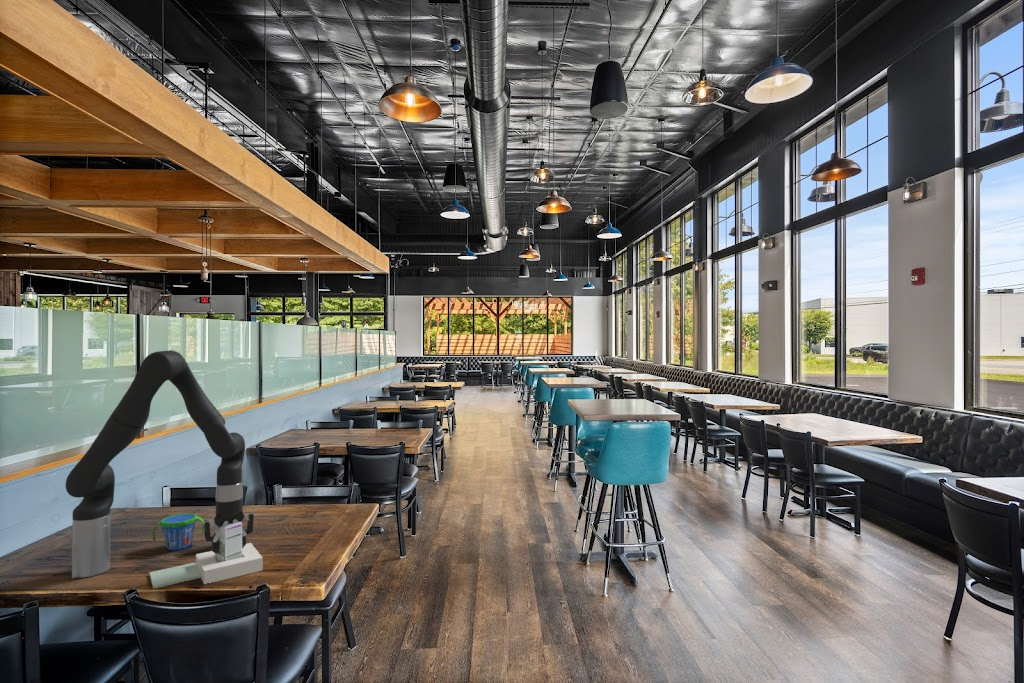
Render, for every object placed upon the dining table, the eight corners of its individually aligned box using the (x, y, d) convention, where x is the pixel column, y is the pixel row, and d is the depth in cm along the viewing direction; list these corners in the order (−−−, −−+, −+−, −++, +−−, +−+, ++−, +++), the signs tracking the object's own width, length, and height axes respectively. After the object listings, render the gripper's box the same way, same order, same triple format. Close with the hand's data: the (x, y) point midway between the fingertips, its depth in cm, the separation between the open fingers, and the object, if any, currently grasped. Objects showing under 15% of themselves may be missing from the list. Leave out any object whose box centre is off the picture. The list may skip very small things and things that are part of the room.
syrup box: (243, 567, 168) (243, 521, 168) (224, 574, 163) (224, 526, 163) (233, 563, 171) (233, 518, 171) (214, 569, 166) (214, 523, 166)
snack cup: (148, 555, 178) (148, 525, 178) (157, 544, 188) (157, 515, 188) (201, 549, 183) (201, 520, 183) (207, 539, 193) (207, 511, 193)
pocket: (204, 584, 156) (204, 571, 156) (195, 566, 169) (195, 554, 169) (262, 570, 166) (262, 557, 166) (250, 554, 178) (250, 542, 178)
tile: (153, 589, 153) (153, 586, 153) (149, 574, 163) (149, 572, 163) (200, 577, 161) (200, 575, 161) (194, 564, 170) (194, 562, 170)
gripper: (205, 504, 160) (205, 559, 160) (256, 496, 169) (256, 548, 169) (201, 498, 166) (201, 552, 166) (251, 491, 175) (251, 541, 175)
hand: (229, 550), depth 167 cm, fingers closed on syrup box, 7 cm apart
